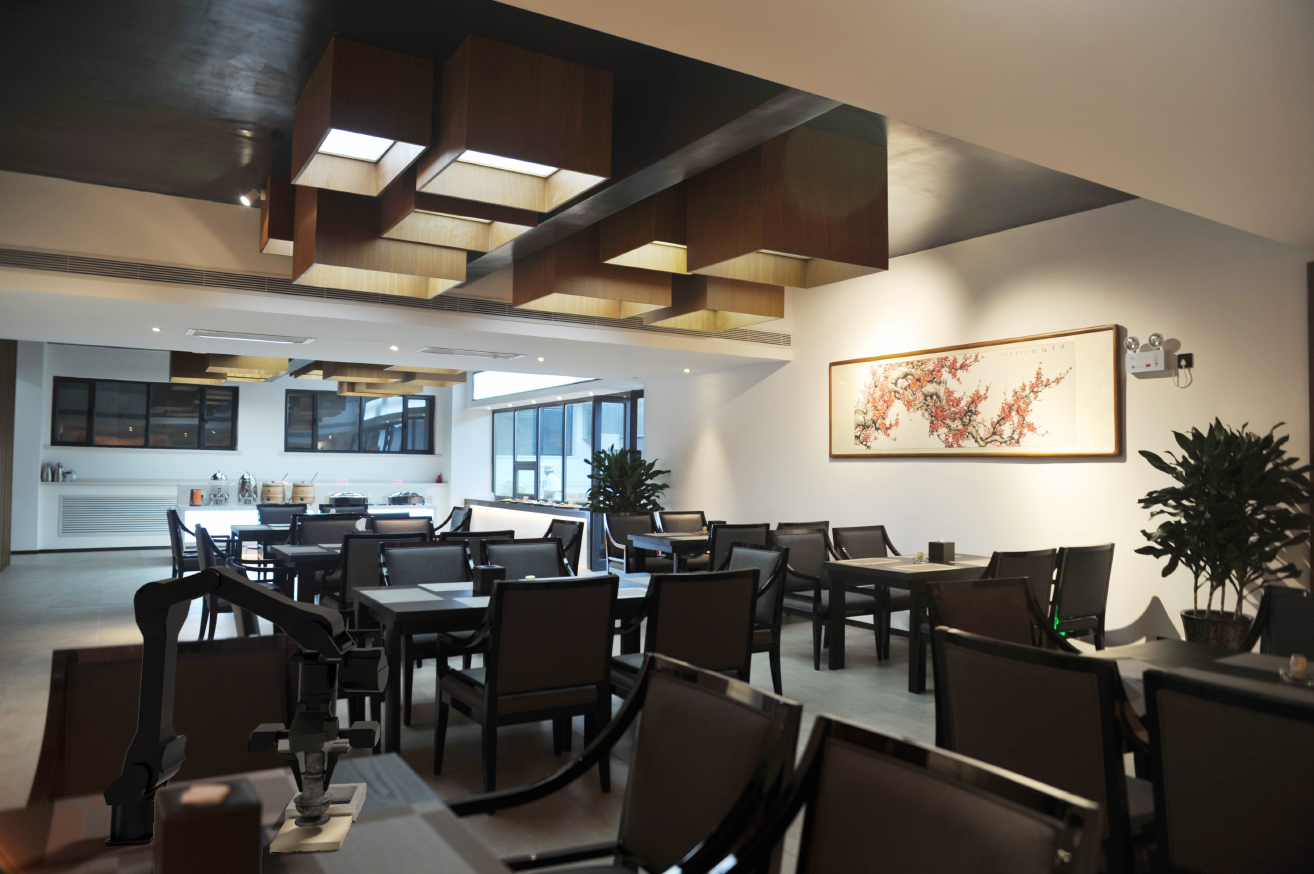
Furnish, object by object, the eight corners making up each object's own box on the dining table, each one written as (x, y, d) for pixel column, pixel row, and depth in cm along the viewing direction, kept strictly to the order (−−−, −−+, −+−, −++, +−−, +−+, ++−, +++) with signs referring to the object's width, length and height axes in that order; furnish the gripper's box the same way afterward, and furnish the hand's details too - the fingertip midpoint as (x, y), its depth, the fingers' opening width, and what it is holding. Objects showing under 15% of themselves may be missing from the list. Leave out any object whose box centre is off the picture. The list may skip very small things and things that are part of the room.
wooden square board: (269, 852, 127) (270, 844, 128) (286, 826, 137) (287, 818, 137) (339, 849, 129) (339, 841, 129) (351, 822, 139) (351, 815, 139)
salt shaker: (318, 829, 130) (321, 750, 131) (284, 825, 131) (287, 746, 132) (340, 815, 136) (343, 738, 136) (307, 811, 137) (310, 735, 137)
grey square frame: (284, 824, 138) (285, 809, 138) (300, 799, 148) (301, 785, 149) (355, 821, 140) (355, 805, 140) (366, 797, 150) (366, 782, 150)
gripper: (239, 705, 125) (233, 813, 124) (371, 702, 128) (367, 808, 127) (260, 686, 136) (256, 786, 135) (382, 684, 139) (378, 782, 138)
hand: (313, 791), depth 134 cm, fingers closed on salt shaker, 3 cm apart
